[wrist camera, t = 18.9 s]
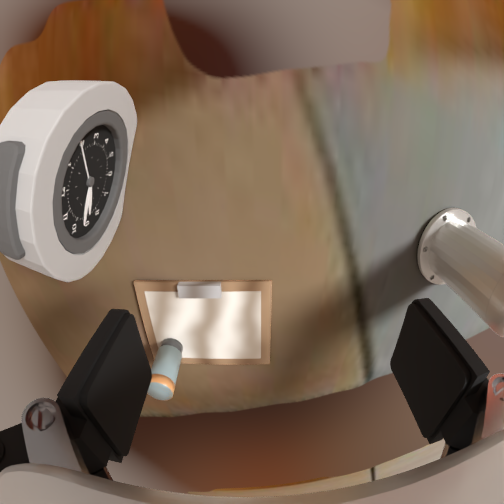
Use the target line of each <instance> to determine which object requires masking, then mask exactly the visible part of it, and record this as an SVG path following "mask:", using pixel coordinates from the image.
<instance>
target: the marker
mask: <svg viewBox="0 0 504 504" xmlns="http://www.w3.org/2000/svg"><path fill="white" fill-rule="evenodd" d="M182 351H183V346H182V344H181V343H180V342H179V341H178V340H176V339H173V338H167V339H164V340H163V342H162V344H161V347H160V348H159V349H158V351H157V354H156V357H155V360H154V363H153V365H152V368H151V371H152V379H151V383H150V386H149V389H148V392H147V393H148V394H149V395H150V396H151V397H153V398H155V399H158V400H169V399H171V398H172V397H173V393H174V389H175V383H176V379H177V375H178V371H179V367H180V363H181V359H182Z"/></svg>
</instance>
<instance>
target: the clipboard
mask: <svg viewBox="0 0 504 504" xmlns="http://www.w3.org/2000/svg"><path fill="white" fill-rule="evenodd" d="M134 286H135V291H136V295H137V299H138V304H139V308H140V312H141V316H142V319H143V323H144V327H145V331H146V334H147V338H148V341H149V345H150V348H151V351H152V355H153V358H154V360H155V357H156V354H157V351H158V349H159V348H160V347H161V344H162V342H163V340H164V339H167V338H173V339H176V340H178V341H179V342H180V343H181V344H182V346H183V351H182V359H181V363H185V364H218V365H248V364H270V340H271V300H272V280H135V281H134Z"/></svg>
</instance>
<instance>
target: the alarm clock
mask: <svg viewBox="0 0 504 504" xmlns="http://www.w3.org/2000/svg"><path fill="white" fill-rule="evenodd" d="M136 126H137V115H136V111H135V107H134V103H133V100H132V98H131V97H130V95H129V93H128V92H127V90H126V89H125V88H124V87H122V86H120V85H119V84H117V83H115V82H109V81H52V82H46V83H44V84H42V85H40V86H38V87H36V88H34V89H32V90H30V91H29V92H28V93H26V94H25V95H24V96H23V97H22V98H21V99H20V100H19V101H18V102H17V103H16V104H15V105H14V106H13V107H12V108H11V109H10V110H9V112H8V114H7V115H6V117H5V118H4V120H3V122H2V123H1V125H0V252H1V253H2V254H4V255H5V256H6V257H7V258H8V259H9V260H12V261H14V262H16V263H18V264H21V265H23V266H25V267H28V268H30V269H32V270H35V271H37V272H39V273H42V274H44V275H47V276H49V277H52V278H54V279H58V280H61V281H64V282H71V281H75V280H78V279H81V278H82V277H84V276H85V275H86V274H88V273H89V272H90V271H92V269H93V268H94V267H95V266H96V264H97V263H98V262H99V261H100V259H101V258H102V257H103V255H104V253H105V251H106V250H107V248H108V246H109V245H110V243H111V241H112V238H113V236H114V234H115V232H116V230H117V227H118V225H119V222H120V219H121V217H122V210H123V202H124V194H125V187H126V180H127V174H128V168H129V162H130V156H131V151H132V146H133V140H134V136H135V131H136Z"/></svg>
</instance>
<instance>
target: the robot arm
mask: <svg viewBox="0 0 504 504" xmlns="http://www.w3.org/2000/svg"><path fill="white" fill-rule="evenodd" d="M417 258H418V265H419V269H420V271H421V273H422V275H423V276H424V277H425V278H426V279H427V280H428V281H429V282H431V283H434V284H438V285H441V284H447V285H448V286H449V287H450V288H451V289H452V290H453V291H454V292H455V293H456V294H458V295H459V296H460V297H461V298H462V299H463V300H464V301H465V302H466V303H467V304H468V305H469V306H470V307H471V308H472V309H473V310H474V311H475V312H476V313H477V314H478V315H479V317H480V318H481V319H482V320H483V321H484V322H485V323H486V324H487V325H488V326H489V327H490V328H491V329H492V330H493V331H494V332H495V333H496V334H498V335H499V336H501V337H504V244H502V243H500V242H499V241H497V240H495V239H494V238H492V237H490V236H489V235H487V234H485V233H484V232H482V231H480V230H478V229H477V228H476V225H475V222H474V220H473V218H472V217H471V216H470V214H469V213H467V212H466V211H464V210H462V209H459V208H448V209H445V210H443V211H441V212H440V213H438V214H437V215H436V216H435V217H434V218H433V219H432V220H431V221H430V222H429V224H428V225H427V227H426V228H425V230H424V232H423V234H422V237H421V239H420V242H419V247H418V255H417ZM390 365H391V370H392V372H393V374H394V375H395V378H396V380H397V382H398V384H399V386H400V388H401V390H402V392H403V394H404V396H405V398H406V400H407V402H408V405H409V407H410V409H411V411H412V413H413V415H414V417H415V420H416V422H417V424H418V426H419V429H420V431H421V433H422V435H423V437H425V438H427V439H428V441H429V444H432V443H435V442H437V441H440V440H442V439H443V438H444V440H445V446H444V449H443V452H442V455H441V458H440V459H439V460H436V461H434V462H431V463H429V464H426V465H423V466H421V467H418V468H415V469H412V470H409V471H406V472H403V473H400V474H397V475H394V476H390V477H387V478H383V479H380V480H376V481H372V482H368V483H364V484H359V485H355V486H350V487H345V488H340V489H335V490H329V491H322V492H315V493H308V494H299V495H288V496H274V497H216V496H201V495H191V494H182V493H173V492H167V491H160V490H155V489H150V488H144V487H139V486H134V485H129V484H125V483H120V482H116V481H113V479H112V477H111V475H110V473H109V471H108V469H107V467H106V466H107V463H108V460H111V461H115V462H119V463H121V462H122V459H123V456H127V454H128V453H129V450H130V446H131V443H132V440H133V436H134V433H135V430H136V426H137V423H138V419H139V417H140V413H141V410H142V407H143V404H144V401H145V398H146V395H147V392H148V389H149V386H150V383H151V379H152V371H151V368H150V365H149V362H148V359H147V356H146V353H145V350H144V347H143V344H142V341H141V338H140V334H139V331H138V328H137V324H136V321H135V318H134V316H133V315H132V314H130V313H129V311H128V310H122V309H111V310H110V311H109V312H108V314H107V315H106V317H105V318H104V320H103V321H102V323H101V324H100V326H99V327H98V329H97V330H96V332H95V333H94V335H93V337H92V338H91V340H90V341H89V343H88V344H87V346H86V348H85V349H84V351H83V352H82V354H81V356H80V357H79V359H78V360H77V362H76V364H75V365H74V367H73V369H72V370H71V372H70V374H69V375H68V377H67V379H66V381H65V382H64V384H63V386H62V387H61V389H60V391H59V393H58V394H57V396H58V398H57V400H56V402H55V401H54V400H52V399H49V398H39V399H36V400H34V401H32V402H31V403H29V404H28V405H27V406H26V408H25V409H24V411H23V414H22V423H20V424H18V425H15V426H13V427H10V428H8V429H5V430H3V431H0V504H504V374H501V373H500V374H495V375H493V376H492V377H491V378H490V380H488V379H487V378H486V377H487V376H488V374H489V372H490V371H489V370H488V368H487V367H486V366H485V364H484V363H483V362H482V360H481V359H480V358H479V357H478V355H477V354H476V353H475V352H474V350H473V349H472V348H471V346H470V345H469V344H468V343H467V341H466V340H465V339H464V338H463V337H462V335H461V334H460V333H459V332H458V331H457V329H456V328H455V327H454V326H453V325H452V323H451V322H450V321H449V320H448V319H447V318H446V316H445V315H444V314H443V313H442V312H441V311H440V310H439V309H438V307H437V306H436V305H435V304H434V303H433V302H432V301H431V300H430V299H429V298H424V299H415V300H413V302H412V304H410V305H409V306H408V309H407V312H406V316H405V319H404V322H403V326H402V329H401V332H400V335H399V338H398V341H397V344H396V347H395V350H394V353H393V356H392V358H391V363H390Z"/></svg>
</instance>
